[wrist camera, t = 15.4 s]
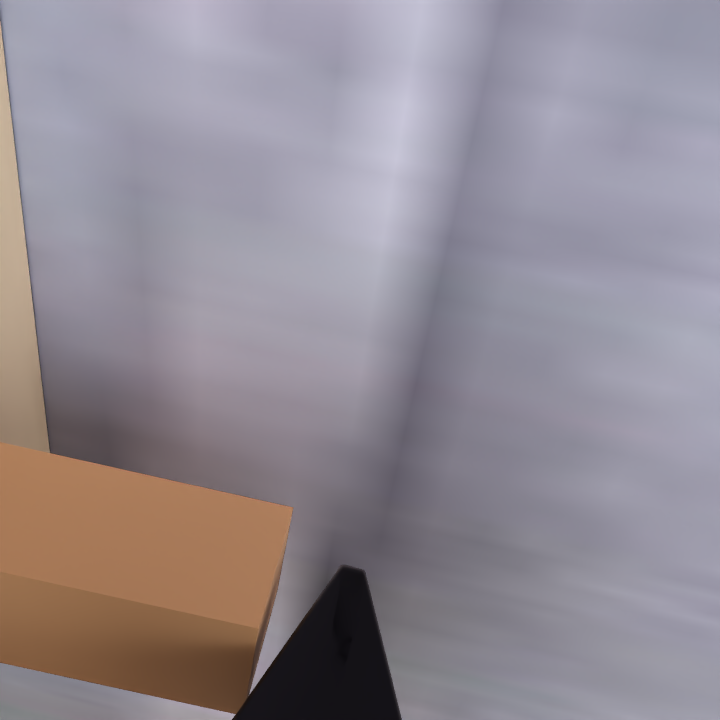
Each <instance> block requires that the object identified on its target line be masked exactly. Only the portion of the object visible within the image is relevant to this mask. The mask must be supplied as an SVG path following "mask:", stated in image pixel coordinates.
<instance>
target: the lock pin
mask: <svg viewBox="0 0 720 720" xmlns="http://www.w3.org/2000/svg"><path fill="white" fill-rule="evenodd" d="M292 511H293V507H289V506H284V505H280V504H275V503H271V502H266V501H262V500H257V499H253V498H249V497H244V496H240V495H235V494H231V493H226V492H222V491H217V490H213V489H208V488H204V487H199V486H195V485H190V484H186V483H181V482H177V481H172V480H168V479H163V478H159V477H155V476H150V475H146V474H141V473H137V472H132V471H128V470H123V469H119V468H114V467H110V466H105V465H101V464H96V463H92V462H87V461H83V460H78V459H74V458H70V457H65V456H61V455H56V454H52V453H47V452H43V451H38V450H34V449H29V448H25V447H20V446H16V445H11V444H7V443H2V442H0V663H5V664H9V665H14V666H18V667H23V668H27V669H32V670H37V671H41V672H46V673H50V674H55V675H59V676H64V677H69V678H73V679H78V680H82V681H87V682H91V683H96V684H101V685H105V686H110V687H114V688H119V689H123V690H128V691H133V692H137V693H142V694H146V695H151V696H155V697H160V698H165V699H169V700H174V701H178V702H183V703H187V704H192V705H197V706H201V707H206V708H210V709H215V710H219V711H224V712H229V713H233V714H236V713H237V712H238V711H239V709H240V708H241V706H242V705H243V703H244V702H245V701H246V699H247V698H248V696H249V693H250V689H251V685H252V682H253V678H254V674H255V671H256V667H257V663H258V660H259V656H260V652H261V649H262V645H263V641H264V638H265V634H266V630H267V627H268V623H269V619H270V616H271V612H272V608H273V605H274V601H275V597H276V594H277V590H278V584H279V579H280V574H281V569H282V563H283V558H284V553H285V548H286V543H287V537H288V532H289V527H290V522H291V517H292Z"/></svg>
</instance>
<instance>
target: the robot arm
mask: <svg viewBox="0 0 720 720" xmlns="http://www.w3.org/2000/svg"><path fill="white" fill-rule="evenodd" d="M232 720H402V718H401V714H400V710H399V706H398V702H397V698H396V694H395V690H394V686H393V682H392V678H391V674H390V670H389V666H388V662H387V658H386V654H385V650H384V646H383V641H382V637H381V633H380V629H379V625H378V621H377V617H376V613H375V609H374V605H373V601H372V597H371V593H370V589H369V585H368V581H367V577H366V572H365V571H364V570H362V569H359V568H355V567H351V566H348V565H340V566H339V568H338V570H337V572H336V573H335V574H334V576H333V577H332V579H331V580H330V581H329V583H328V584H327V586H326V587H325V589H324V590H323V591H322V593H321V594H320V596H319V597H318V599H317V600H316V601H315V603H314V604H313V606H312V607H311V608H310V610H309V611H308V613H307V614H306V616H305V617H304V618H303V620H302V621H301V623H300V624H299V625H298V627H297V628H296V630H295V631H294V633H293V634H292V635H291V637H290V638H289V640H288V641H287V642H286V644H285V645H284V647H283V648H282V650H281V651H280V652H279V654H278V655H277V657H276V658H275V660H274V661H273V662H272V664H271V665H270V667H269V668H268V669H267V671H266V672H265V674H264V675H263V677H262V678H261V679H260V681H259V682H258V684H257V685H256V686H255V688H254V689H253V691H252V692H251V694H250V695H249V696H248V698H247V699H246V701H245V702H244V703H243V705H242V706H241V708H240V709H239V711H238V712H237V713H236V715H235V716H234V718H233V719H232Z"/></svg>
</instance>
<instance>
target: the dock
mask: <svg viewBox="0 0 720 720" xmlns="http://www.w3.org/2000/svg"><path fill="white" fill-rule="evenodd" d="M0 442H2V443H7V444H11V445H16V446H20V447H25V448H29V449H34V450H38V451H43V452H47V453H50V450H49V441H48V433H47V424H46V415H45V406H44V398H43V389H42V380H41V372H40V363H39V354H38V345H37V337H36V328H35V319H34V311H33V302H32V293H31V284H30V276H29V267H28V258H27V250H26V241H25V232H24V223H23V215H22V206H21V197H20V189H19V180H18V171H17V162H16V154H15V145H14V136H13V128H12V119H11V110H10V101H9V93H8V84H7V75H6V67H5V58H4V49H3V40H2V32H1V23H0Z"/></svg>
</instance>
